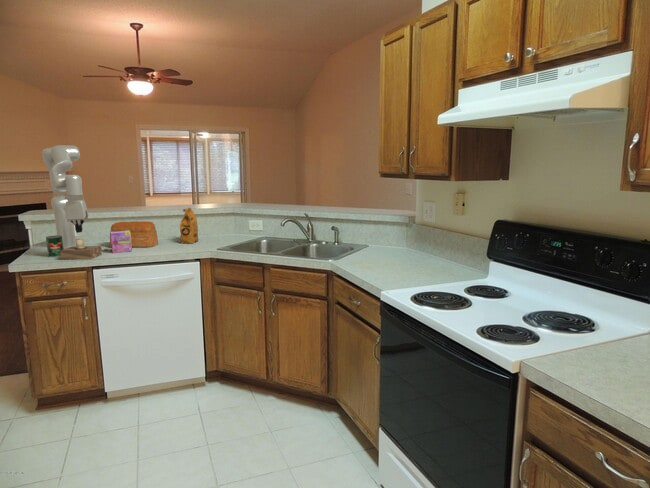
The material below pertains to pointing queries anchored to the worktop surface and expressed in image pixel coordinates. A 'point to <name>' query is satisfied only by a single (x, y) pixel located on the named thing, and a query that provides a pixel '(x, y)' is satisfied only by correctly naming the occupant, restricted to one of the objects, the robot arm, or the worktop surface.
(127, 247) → the box
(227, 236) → the worktop surface
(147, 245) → the bread
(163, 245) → the worktop surface
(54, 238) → the canned tomato
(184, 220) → the coffee package
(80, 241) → the peg
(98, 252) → the board
